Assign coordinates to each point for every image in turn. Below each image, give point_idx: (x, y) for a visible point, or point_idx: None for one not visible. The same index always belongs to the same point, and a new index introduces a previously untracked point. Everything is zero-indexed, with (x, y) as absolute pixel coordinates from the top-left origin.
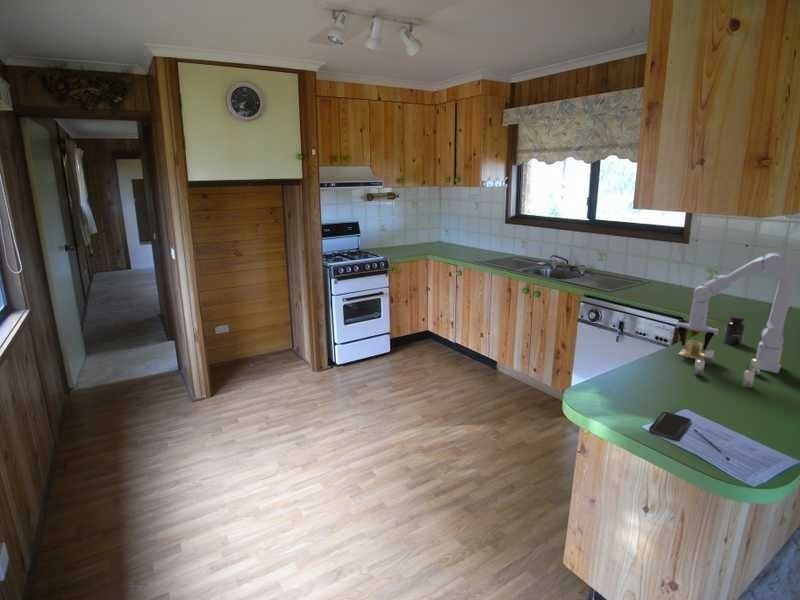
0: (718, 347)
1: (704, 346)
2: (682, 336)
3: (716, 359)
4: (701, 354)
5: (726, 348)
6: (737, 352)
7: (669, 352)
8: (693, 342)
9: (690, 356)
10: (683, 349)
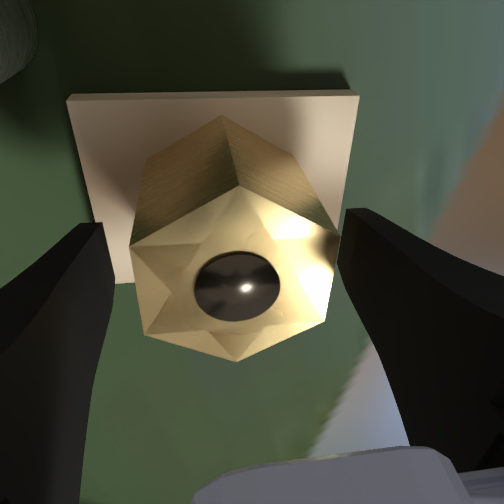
0: (138, 459)
1: (70, 246)
2: (454, 273)
3: (5, 240)
4: None
5: (94, 471)
6: None
7: (437, 127)
8: (246, 270)
9: (219, 96)
10: None
